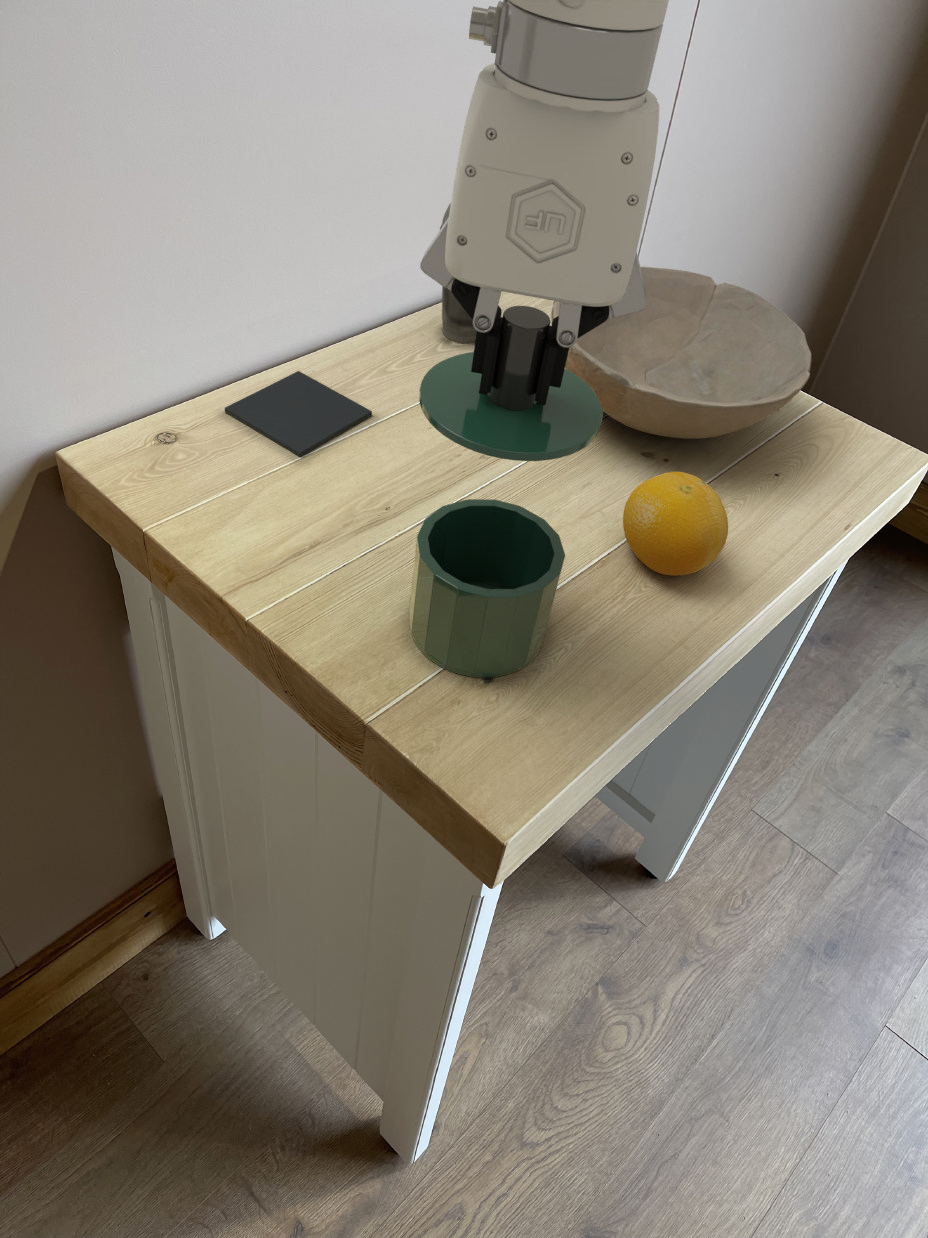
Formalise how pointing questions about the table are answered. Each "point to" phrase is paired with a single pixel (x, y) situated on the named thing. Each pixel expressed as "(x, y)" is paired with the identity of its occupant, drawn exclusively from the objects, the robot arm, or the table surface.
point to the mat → (298, 413)
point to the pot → (483, 586)
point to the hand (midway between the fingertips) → (514, 385)
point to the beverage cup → (455, 313)
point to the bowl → (692, 358)
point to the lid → (511, 399)
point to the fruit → (675, 523)
